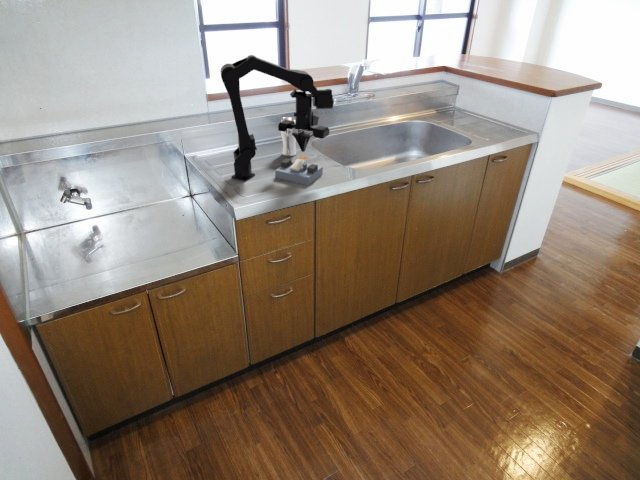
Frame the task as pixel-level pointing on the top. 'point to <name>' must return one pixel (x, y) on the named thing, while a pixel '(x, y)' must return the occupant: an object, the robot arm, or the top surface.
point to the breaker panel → (298, 174)
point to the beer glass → (288, 139)
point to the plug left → (286, 163)
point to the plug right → (312, 168)
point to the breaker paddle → (299, 163)
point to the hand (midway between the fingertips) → (303, 151)
